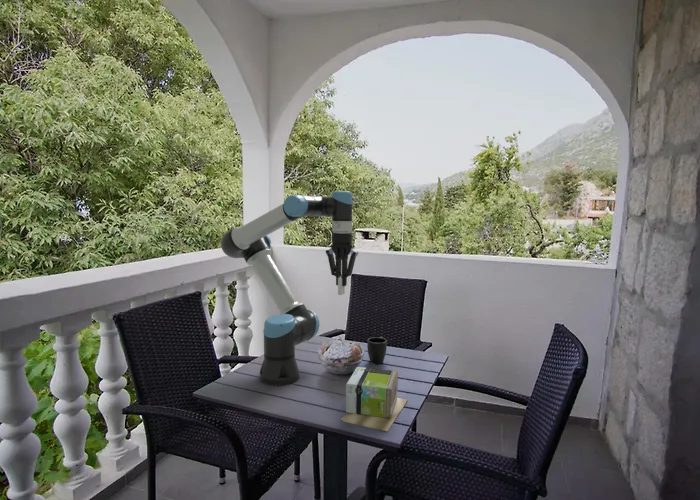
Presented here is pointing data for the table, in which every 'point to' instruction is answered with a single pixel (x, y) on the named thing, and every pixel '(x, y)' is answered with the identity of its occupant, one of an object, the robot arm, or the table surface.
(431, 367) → the table surface
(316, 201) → the robot arm
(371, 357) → the mug
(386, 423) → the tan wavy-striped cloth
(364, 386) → the tea box
